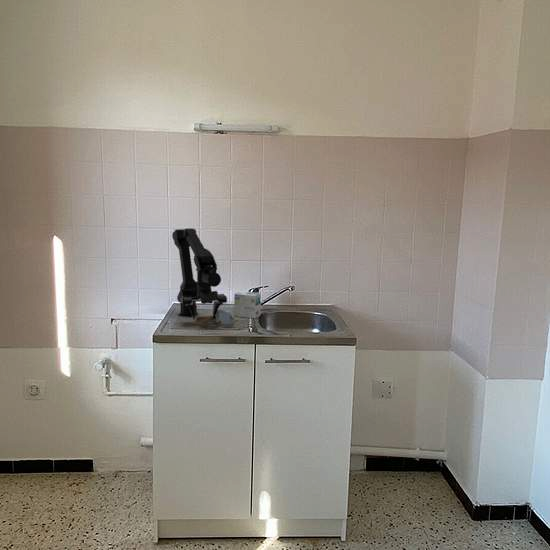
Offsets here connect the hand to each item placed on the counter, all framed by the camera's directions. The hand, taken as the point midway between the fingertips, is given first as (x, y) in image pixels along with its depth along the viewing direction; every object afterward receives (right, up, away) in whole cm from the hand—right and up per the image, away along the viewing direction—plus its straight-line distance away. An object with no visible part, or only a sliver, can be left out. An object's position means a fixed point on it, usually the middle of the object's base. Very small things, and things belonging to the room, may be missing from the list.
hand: (203, 318), depth 205 cm
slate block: (+8, -2, +3) cm, 9 cm away
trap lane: (+6, -2, 0) cm, 6 cm away
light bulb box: (+18, 0, +16) cm, 24 cm away
